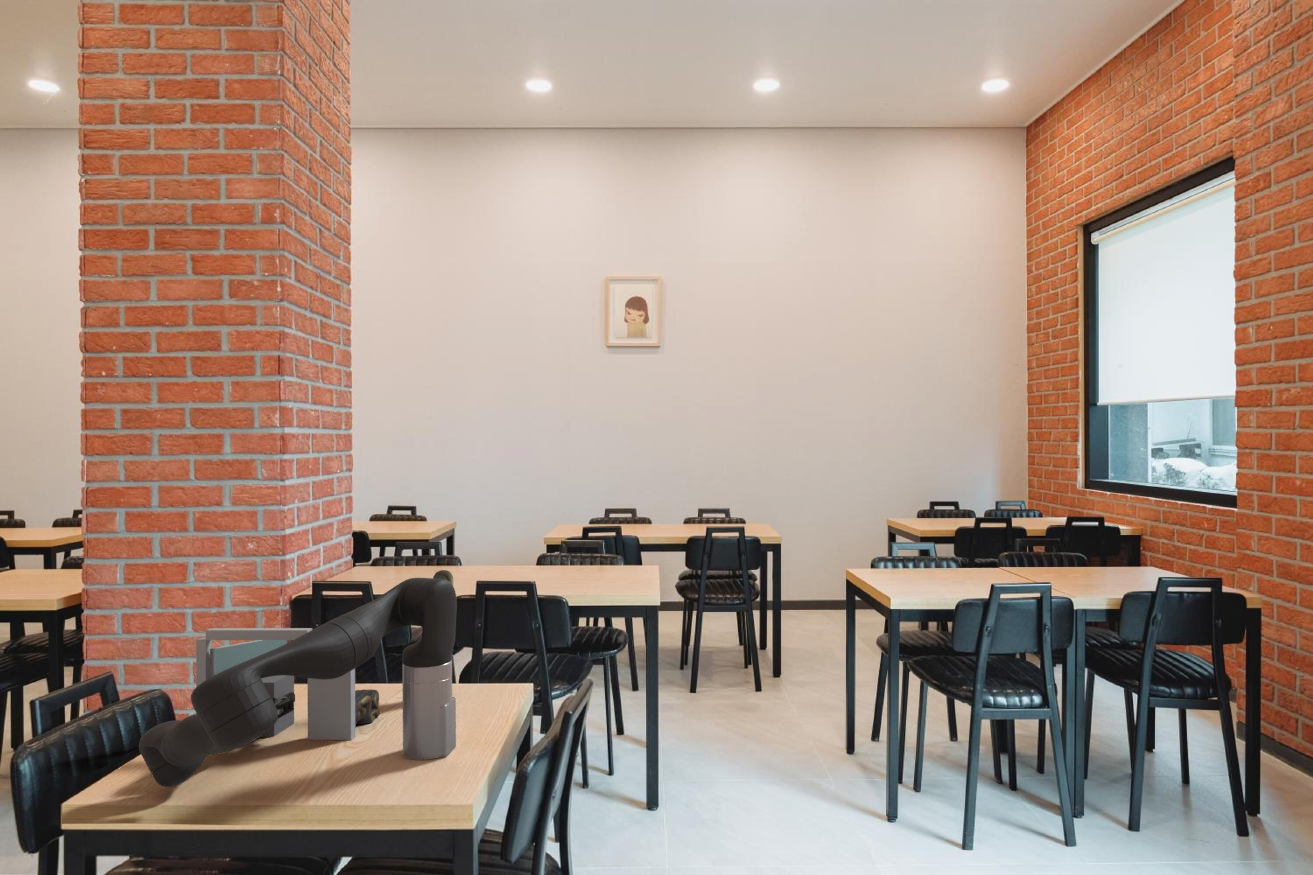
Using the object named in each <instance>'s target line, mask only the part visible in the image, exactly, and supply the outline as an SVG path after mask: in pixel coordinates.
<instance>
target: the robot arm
mask: <svg viewBox="0 0 1313 875" xmlns="http://www.w3.org/2000/svg"><path fill="white" fill-rule="evenodd" d="M457 603H458V601H457V594H456V590H455V587H454V584H453V585H452V584H451V583H450V582H449V581H447V580H444V579H433V577H432V578H431V577H411V578H407V579H405V580H403V581H401V582H400V583H398V584H396V585H394V586H393V587H391V588H390V589H388V590H387V591H386V592H385V593H383V594H381V595H380V596H378V597H377V598H375V599H373V600H372V601H369V602H368V603H365V604H363V605H361V606H359V607H357V608H355V609H353V610H350V611H348V612H346V613H344V614H342V615H339V616H337V617H335V618H333V619H330V620H329V621H327V622H324V623H323V624H321V625H319V626H317V627H315V628H312V630H311V631H309V632H308V633H306V634H304V635H302V636H300V637H298V638H296V639H295V640H290V641H289V642H287V644H285V645H283V646H280V647H278V648H276V649H274V650H271V651H269V652H267V653H264V654H262V655H259V656H257V657H255V658H252V659H250V660H247V661H245V662H243V663H240V664H238V665H236V666H233V667H231V668H229V669H226V670H224V671H222V672H220V673H218V674H216V675H214V676H212V677H210V678H208V679H207V680H205V681H204V682H202V683H201V684H200V685H198V686H197V687H196V686H195V688H194V689H193V691H192V692H191V694H190V701H191V704H192V707H193V708H194V711H195V714H192V715H188V716H187V717H186V716H185V717H184V718H183V719H181V720H180V719H177V720H169V721H165V722H162V723H159V724H156V725H154V726H152V727H151V728H150V729H148V730H147V731H146V732H145V733H144V734H142V737H141V738H140V739H139V744H138V749H139V752H140V753H139V754H140V755H141V757H142V759H143V760H144V763H145V764H146V766H147V768H148V770H149V772H150V774H151V776H152V778H153V779H154V781H155V782H156V784H158V785H159V786H161V787H164V788H170V787H175V786H179V785H181V784H182V783H184V782H185V781H187V780H188V779H190V778H191V777H192V776H193V775H194V774H195V773H196V772H197V771H198V770H199V768H200V767H201V766H202V764H203V763H204V761H205V760H206V759H207V758H208V756H215V755H221V754H224V753H229V752H233V751H235V750H238V749H240V748H242V747H244V746H246V745H248V744H249V743H251V742H253V741H256V739H258V738H260V737H262V736H261V735H263V734H264V733H265V732H267V731H268V730H269V729H270V728H271V727H272V726H273V725H274V724H275V722H276V721H277V719H278V718H280V717H282V716H284V715H286V714H288V713H289V712H291V711H293V710H294V711H295V702H296V694H295V691H294V692H290V693H288V694H286V695H284V696H282V697H280V698H274V697H270V695H269V693H268V691H267V689H266V687H265V685H264V683H263V682H262V679H261V678H265V677H271V676H280V675H288V676H294V677H298V678H304V679H308V678H311V679H324V680H325V679H335V678H338V677H341V676H343V675H345V674H346V673H348V672H350V671H351V670H353V669H355V670H356V668H359V667H360V666H361V665H363V664H364V663H366V662H368V661H369V660H370V659H371V658H372V657H373V656H374V654H375V653H376V652H377V651H378V649H379V647H380V644H381V642H382V638H383V637H385V636H386V635H388V634H390V633H392V632H394V631H396V630H398V629H401V628H404V627H409V626H410V627H411V626H412V627H413V626H414V627H422V628H421V629H422V630H421V638H420V640H419V641H417V642H416V643H412V644H409V645H407V646H405V647H404V648H403V650H402V655H401V656H402V665H401V666H402V755H403V756H404V758H407V759H411V760H418V761H419V760H431V759H437V758H445V757H447V756H448V755H450V753H451V752H452V751H453V750H454V748H456V745H457V730H456V729H457V722H456V720H457V717H456V716H457V713H456V712H457V708H456V706H457V705H456V704H457V703H456V697H455V696H453V650H454V648H455V642H456V635H457V634H456V632H457V631H456V630H457V610H458V604H457ZM279 701H281V702H280V703H278V704H276V703H277V702H279ZM196 713H197V714H196Z"/></svg>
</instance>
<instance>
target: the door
mask: <svg viewBox="0 0 1313 875" xmlns="http://www.w3.org/2000/svg"><path fill="white" fill-rule="evenodd" d="M287 643H288V640H249V641H246V642H245V641H244V642H240V643H235V644H234V643H233V644H229V645H223V646H218V647H213V648H211V649H210V677H212V676H214V675H216V674H218V673H220V672H222V671H224V670H226V669H229V668H231V667H233V666H236V665H238V664H240V663H243V662H245V661H247V660H250V659H252V658H255V657H257V656H259V655H262V654H264V653H267V652H269V651H271V650H274V649H276V648H278V647H280V646H283V645H285V644H287Z"/></svg>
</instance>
